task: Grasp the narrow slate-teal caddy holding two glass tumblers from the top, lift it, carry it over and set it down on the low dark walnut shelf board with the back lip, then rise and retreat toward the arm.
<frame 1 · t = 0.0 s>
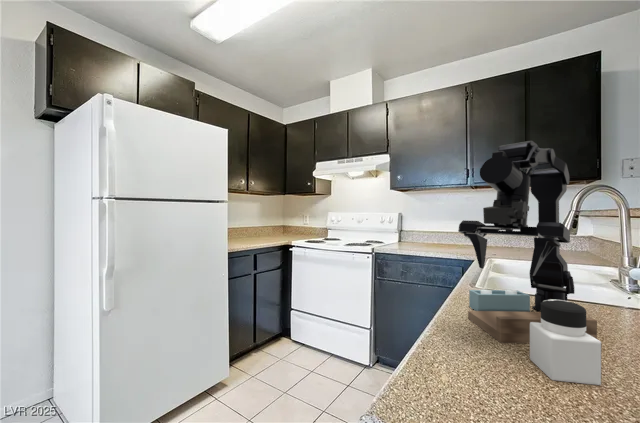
hand: (505, 271, 59), 15 cm above the countertop, tool pointing down, fingers open, 9 cm apart
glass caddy: (498, 310, 81), on the countertop
walnut shelf: (525, 329, 68), on the countertop
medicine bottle: (562, 372, 50), on the countertop
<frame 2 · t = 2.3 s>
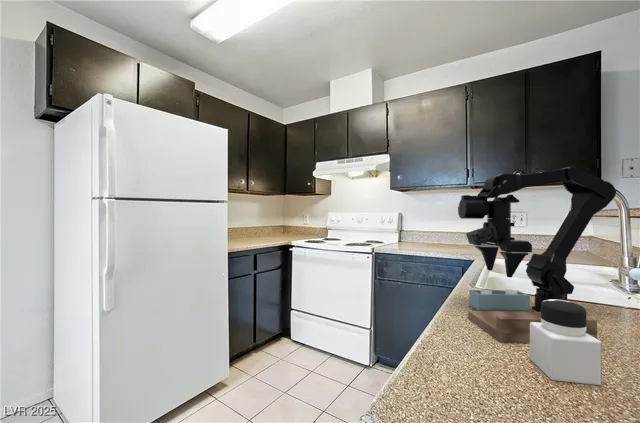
hand: (499, 273, 82), 10 cm above the countertop, tool pointing down, fingers open, 9 cm apart
nothing on the countertop moved.
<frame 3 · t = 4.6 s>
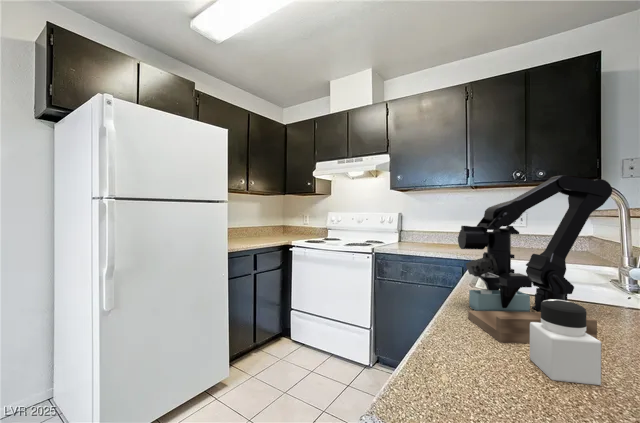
hand: (498, 304, 82), 2 cm above the countertop, tool pointing down, fingers closed on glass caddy, 5 cm apart
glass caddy: (498, 310, 81), on the countertop, touching gripper
everything else where it was.
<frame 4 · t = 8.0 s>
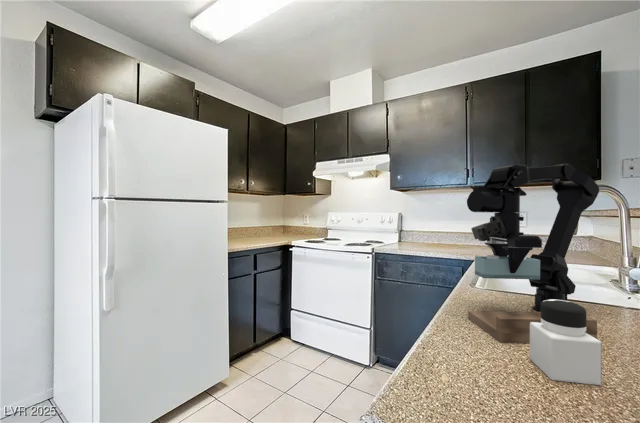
hand: (506, 271, 77), 12 cm above the countertop, tool pointing down, fingers closed on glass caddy, 5 cm apart
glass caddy: (506, 276, 77), point 11 cm above the countertop, touching gripper
everything else where it was.
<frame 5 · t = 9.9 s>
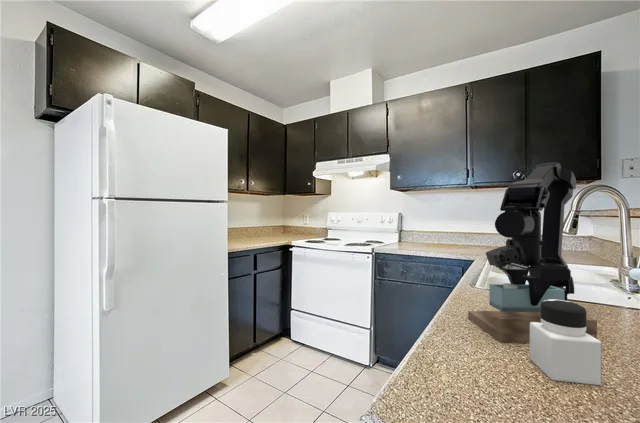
hand: (525, 301, 68), 7 cm above the countertop, tool pointing down, fingers closed on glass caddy, 5 cm apart
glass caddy: (525, 308, 68), point 5 cm above the countertop, touching gripper
everything else where it was.
when the fingers open (4 cm above the countertop, at t = 11.2 s): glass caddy stays where it is, resting on walnut shelf.
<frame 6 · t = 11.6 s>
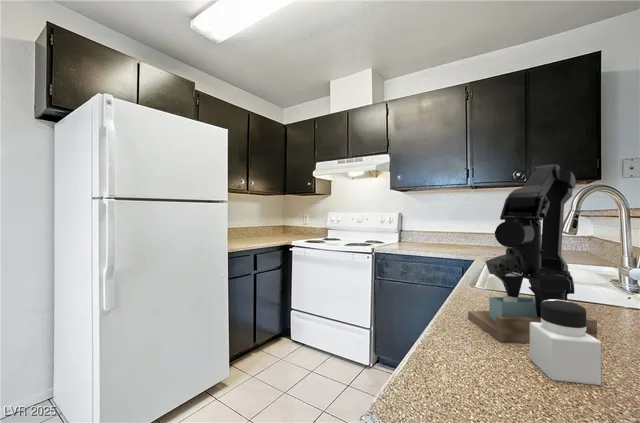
hand: (525, 310, 68), 4 cm above the countertop, tool pointing down, fingers open, 9 cm apart
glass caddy: (525, 321, 68), point 2 cm above the countertop, touching walnut shelf
everything else where it was.
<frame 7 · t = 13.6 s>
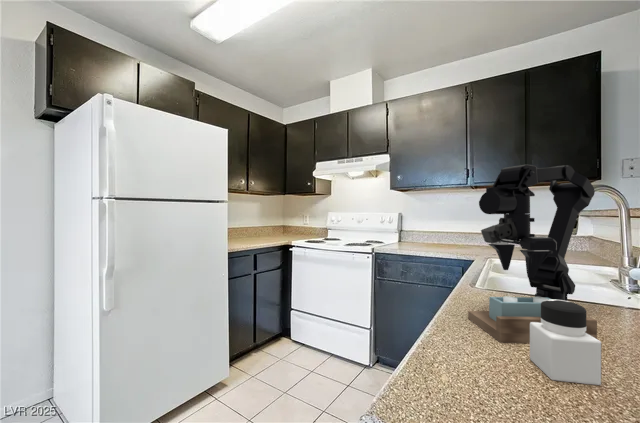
hand: (517, 273, 75), 12 cm above the countertop, tool pointing down, fingers open, 9 cm apart
nothing on the countertop moved.
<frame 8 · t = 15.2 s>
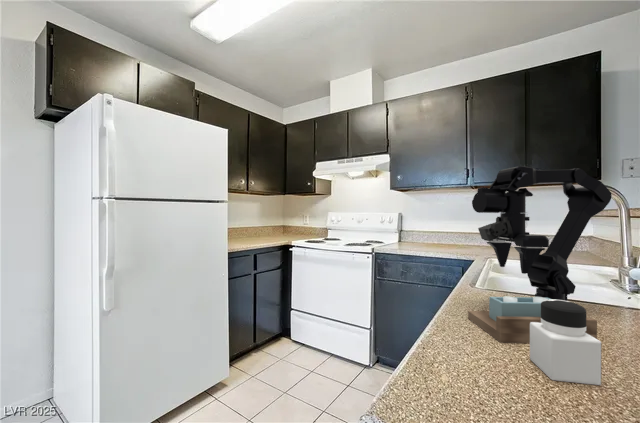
hand: (512, 270, 79), 12 cm above the countertop, tool pointing down, fingers open, 9 cm apart
nothing on the countertop moved.
at the end: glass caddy inside the target area on the walnut shelf (0.2 cm from its centre), point 2.0 cm above the walnut shelf's base; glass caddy tilted 0°; the gripper is holding nothing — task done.
